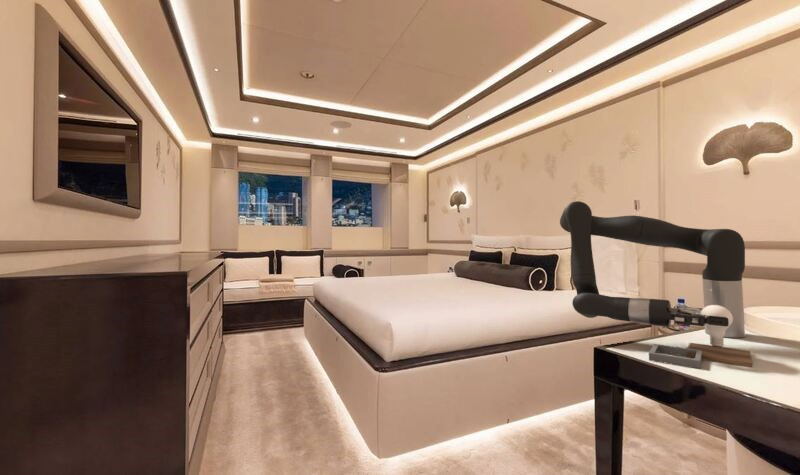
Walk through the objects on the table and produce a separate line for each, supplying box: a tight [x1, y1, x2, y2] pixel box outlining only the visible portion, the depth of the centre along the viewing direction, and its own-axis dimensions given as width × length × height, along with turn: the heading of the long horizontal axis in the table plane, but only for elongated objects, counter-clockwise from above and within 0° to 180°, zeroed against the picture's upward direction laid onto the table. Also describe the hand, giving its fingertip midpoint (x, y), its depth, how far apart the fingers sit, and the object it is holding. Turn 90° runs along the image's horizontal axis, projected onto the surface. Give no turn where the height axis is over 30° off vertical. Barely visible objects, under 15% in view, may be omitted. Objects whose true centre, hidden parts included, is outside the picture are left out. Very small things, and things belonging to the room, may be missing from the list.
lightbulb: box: [700, 305, 733, 348], centre depth 91 cm, size 6×6×11 cm
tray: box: [648, 343, 703, 369], centre depth 90 cm, size 10×10×2 cm
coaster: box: [686, 342, 753, 368], centre depth 91 cm, size 12×12×1 cm
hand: (728, 319), depth 89 cm, fingers closed on lightbulb, 6 cm apart
